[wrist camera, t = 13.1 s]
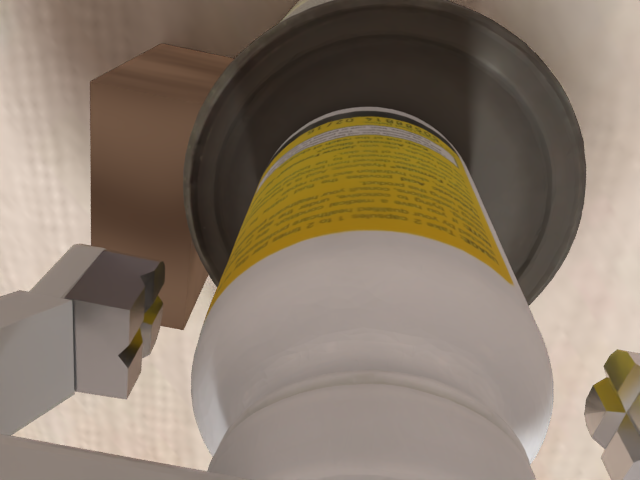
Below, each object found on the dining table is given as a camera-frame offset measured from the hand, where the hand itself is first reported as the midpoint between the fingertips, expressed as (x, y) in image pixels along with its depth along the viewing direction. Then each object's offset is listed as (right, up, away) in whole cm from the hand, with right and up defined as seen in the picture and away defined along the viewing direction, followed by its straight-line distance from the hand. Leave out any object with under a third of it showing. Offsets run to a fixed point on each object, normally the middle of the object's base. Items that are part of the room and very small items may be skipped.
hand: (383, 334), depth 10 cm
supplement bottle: (0, +3, +5) cm, 5 cm away
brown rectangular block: (-8, +6, +19) cm, 21 cm away
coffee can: (+1, +9, +17) cm, 19 cm away
